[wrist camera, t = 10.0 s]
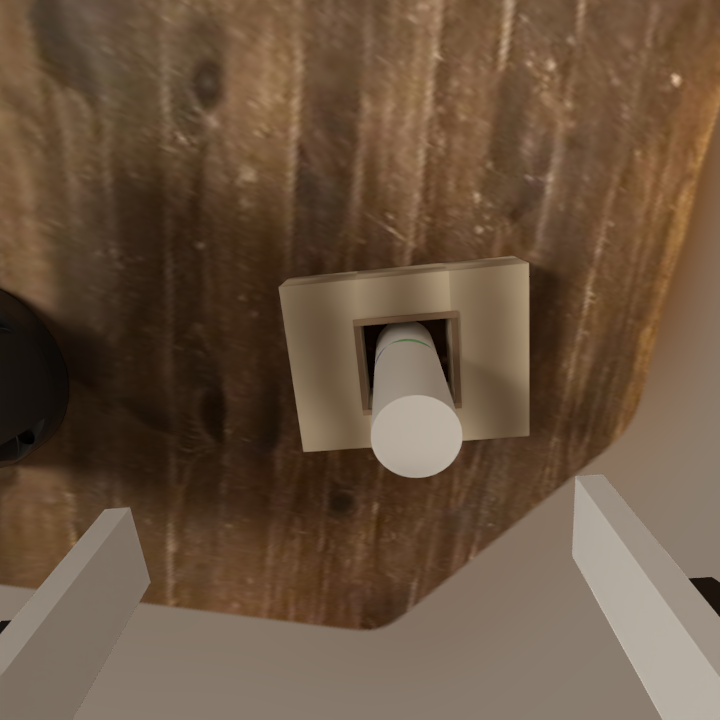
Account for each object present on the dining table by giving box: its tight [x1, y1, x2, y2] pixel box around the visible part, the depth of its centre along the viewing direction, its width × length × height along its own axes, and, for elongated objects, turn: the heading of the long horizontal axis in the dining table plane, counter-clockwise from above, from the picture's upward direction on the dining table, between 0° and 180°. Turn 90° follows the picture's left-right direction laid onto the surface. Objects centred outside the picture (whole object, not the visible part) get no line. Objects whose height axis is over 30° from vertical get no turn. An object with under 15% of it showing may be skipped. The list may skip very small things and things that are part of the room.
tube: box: [371, 321, 462, 478], centre depth 31 cm, size 4×4×15 cm
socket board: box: [278, 256, 529, 452], centre depth 36 cm, size 16×12×4 cm
